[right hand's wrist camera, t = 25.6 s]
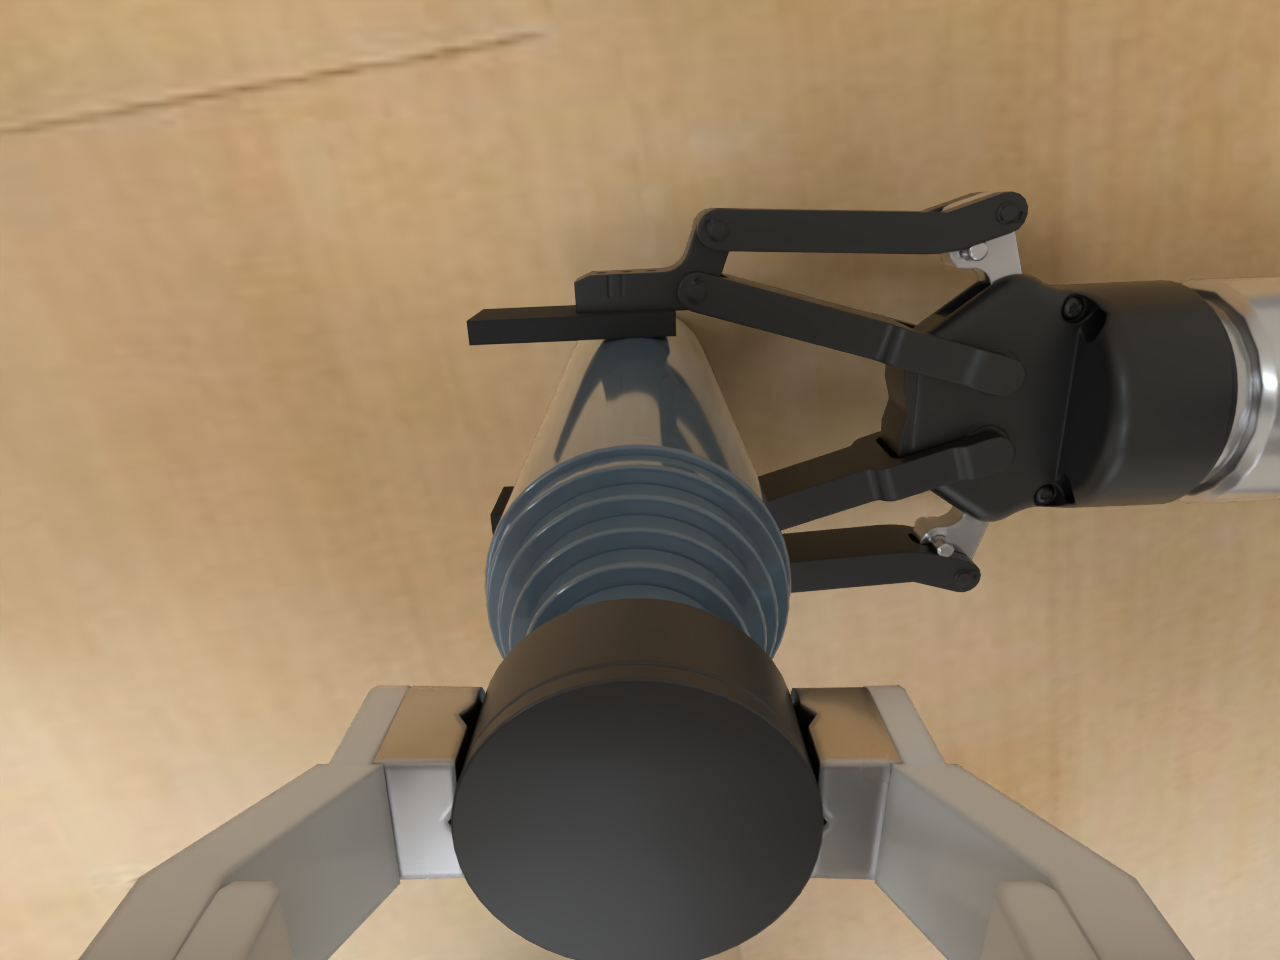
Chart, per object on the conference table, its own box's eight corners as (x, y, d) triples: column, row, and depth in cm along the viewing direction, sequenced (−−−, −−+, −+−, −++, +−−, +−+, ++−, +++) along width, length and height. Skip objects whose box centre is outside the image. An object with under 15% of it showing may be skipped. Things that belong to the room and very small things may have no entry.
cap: (798, 842, 11) (826, 957, 9) (507, 863, 11) (483, 980, 10) (790, 582, 10) (822, 662, 8) (455, 610, 10) (416, 696, 8)
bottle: (735, 389, 32) (956, 827, 10) (626, 468, 33) (598, 1018, 11) (652, 276, 30) (689, 490, 8) (540, 363, 31) (304, 757, 9)
